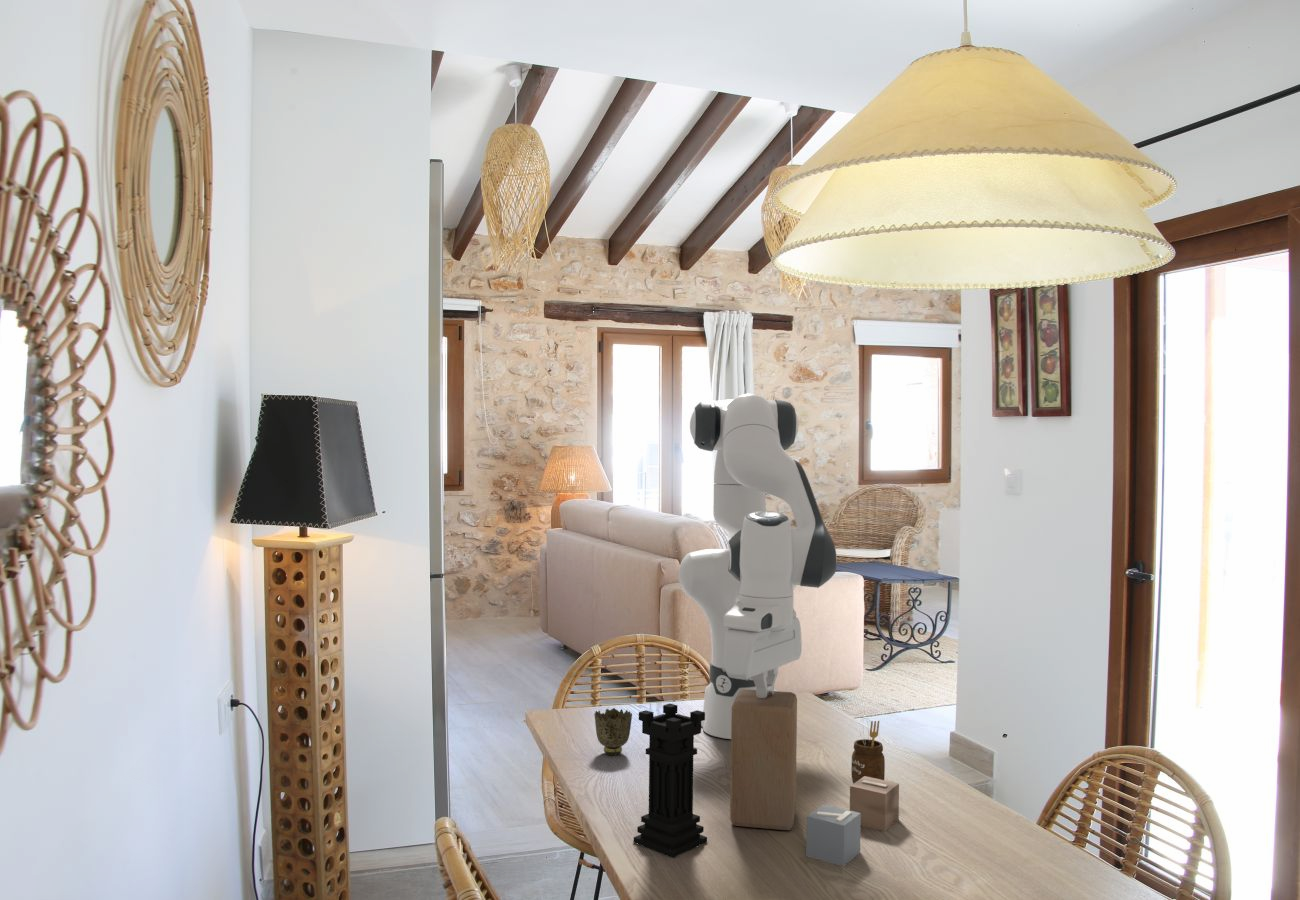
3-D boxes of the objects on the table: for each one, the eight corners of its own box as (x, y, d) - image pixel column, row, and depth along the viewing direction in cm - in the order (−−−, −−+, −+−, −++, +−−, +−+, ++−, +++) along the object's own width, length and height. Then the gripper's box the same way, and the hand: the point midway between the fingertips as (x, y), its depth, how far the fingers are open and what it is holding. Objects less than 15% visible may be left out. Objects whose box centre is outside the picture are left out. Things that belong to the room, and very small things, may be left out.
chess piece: (633, 842, 149) (635, 712, 149) (668, 827, 155) (669, 702, 155) (672, 858, 143) (674, 722, 143) (707, 842, 149) (708, 712, 149)
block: (792, 833, 153) (794, 706, 153) (729, 827, 155) (731, 702, 155) (796, 810, 163) (797, 691, 163) (736, 805, 165) (737, 687, 165)
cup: (619, 745, 197) (619, 706, 197) (638, 755, 191) (639, 714, 191) (587, 751, 193) (587, 711, 193) (606, 761, 187) (606, 720, 186)
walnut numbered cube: (864, 811, 163) (864, 774, 163) (898, 819, 159) (899, 781, 159) (849, 822, 158) (850, 784, 158) (884, 831, 154) (885, 792, 154)
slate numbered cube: (823, 843, 150) (823, 802, 150) (860, 852, 146) (860, 811, 146) (806, 856, 145) (806, 814, 145) (843, 866, 141) (844, 823, 141)
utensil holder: (876, 775, 181) (877, 710, 181) (890, 787, 174) (891, 720, 174) (846, 776, 180) (847, 711, 180) (859, 788, 173) (859, 721, 173)
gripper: (778, 601, 169) (777, 681, 169) (717, 618, 152) (716, 706, 152) (811, 605, 165) (810, 686, 166) (753, 622, 149) (751, 713, 149)
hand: (764, 696), depth 159 cm, fingers closed
